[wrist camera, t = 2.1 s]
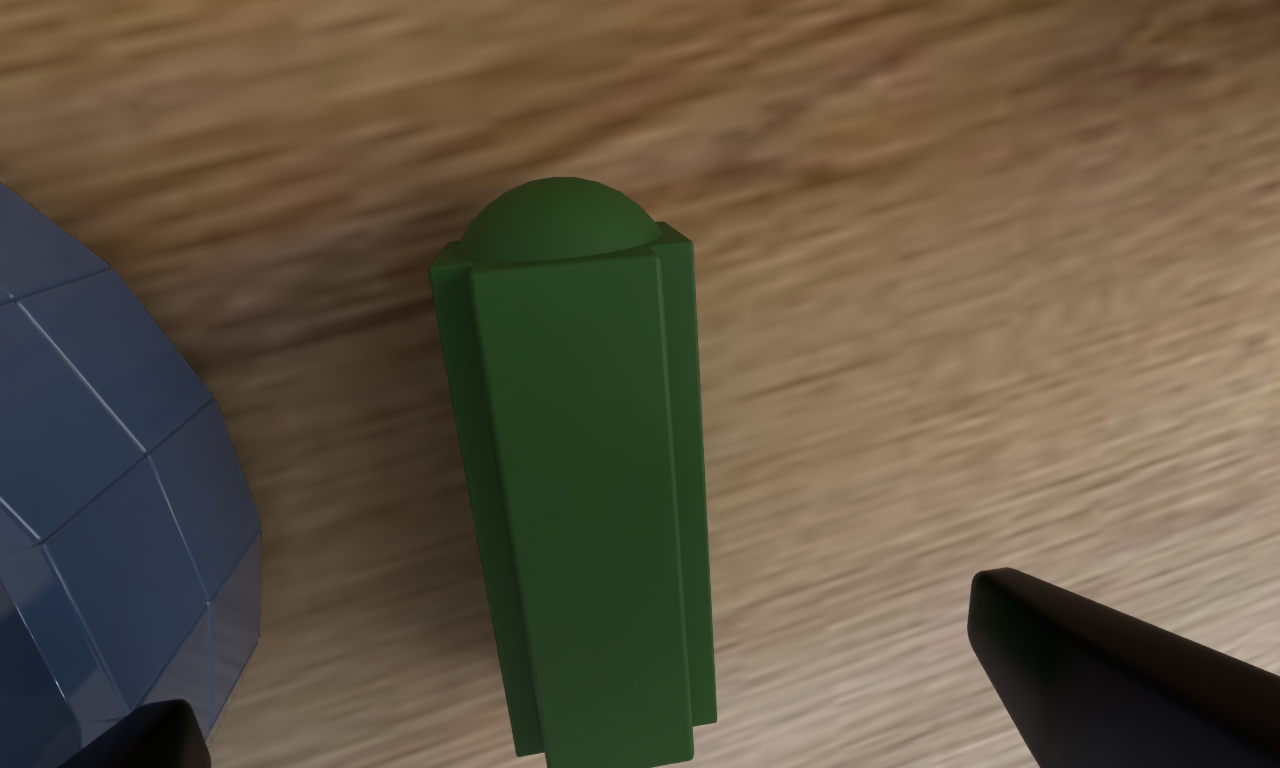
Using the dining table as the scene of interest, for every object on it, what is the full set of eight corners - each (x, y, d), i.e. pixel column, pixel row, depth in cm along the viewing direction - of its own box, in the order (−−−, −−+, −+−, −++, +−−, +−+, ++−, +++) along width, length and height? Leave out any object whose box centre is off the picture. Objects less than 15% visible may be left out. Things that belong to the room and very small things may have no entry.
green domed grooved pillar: (687, 651, 15) (729, 795, 12) (525, 677, 15) (522, 834, 12) (654, 161, 12) (702, 173, 9) (442, 180, 12) (404, 200, 8)
